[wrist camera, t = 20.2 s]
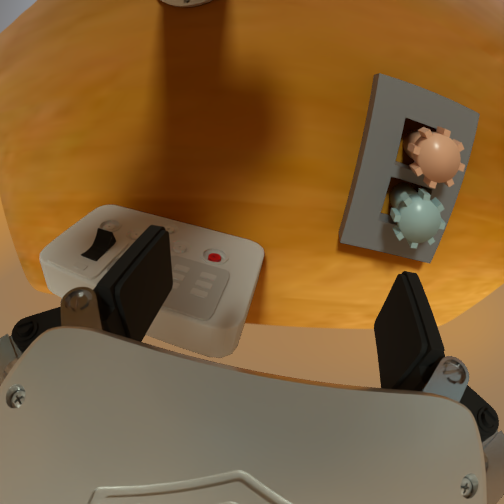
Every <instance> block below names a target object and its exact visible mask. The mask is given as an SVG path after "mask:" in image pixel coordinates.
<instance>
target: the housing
mask: <svg viewBox="0 0 504 504" xmlns="http://www.w3.org/2000/svg"><path fill="white" fill-rule="evenodd" d="M405 118H408V119H411V120H414V121H417V122H419V123H422V124H425V125H428V126H430V127H433V128H435V129H437V126H439V127H442V128H444V129H447V130H449V131H451V134H450V137H449V138H451V139H452V140H453V139H455V140H457V141H459V142H462V144H463V147H464V150H462V151H461V152H460V157H461V161H460V162H461V163H462V164H464V165H465V168H464V171H463V172H462V171H460V170H458V172H457V173H456V175H455V176H454V177H453V178H452V179H453V182H454V184H453V185H452V186H450V187H448V186H447V185H446V184H445V183H437V184H436V188H435V189H434V188H431V187H429V186H428V185H427V184H426V183H425V182H424V181H423V180H424V176H425V175H424V174H421V175H420V176H417V175H416V174H415V173H414V172H413V171H412V170H411V168H410V166H409V165H406V164H403V163H400V162H396V161H395V160H396V157H397V153H398V149H399V144H400V140H401V136H402V131H403V127H404V122H405ZM478 119H479V113H477V112H475V111H473V110H471V109H469V108H467V107H465V106H463V105H461V104H459V103H456V102H454V101H452V100H450V99H448V98H445V97H443V96H441V95H438V94H436V93H434V92H431V91H429V90H426V89H424V88H421V87H418V86H416V85H413V84H410V83H407V82H405V81H402V80H399V79H396V78H393V77H390V76H386V75H383V74H380V73H379V74H375V75H374V79H373V85H372V91H371V96H370V102H369V107H368V113H367V118H366V123H365V128H364V132H363V137H362V142H361V146H360V151H359V155H358V160H357V164H356V168H355V172H354V177H353V181H352V185H351V189H350V192H349V196H348V200H347V204H346V208H345V211H344V215H343V219H342V222H341V226H340V229H339V238H340V243H344V244H349V245H353V246H358V247H362V248H367V249H371V250H376V251H380V252H384V253H389V254H393V255H397V256H401V257H406V258H410V259H414V260H418V261H422V262H426V263H430V262H431V260H432V258H433V256H434V254H435V251H436V249H437V247H438V245H439V242H440V240H441V238H442V235H443V233H444V230H445V228H446V225H447V223H448V220H449V218H450V215H451V212H452V210H453V207H454V204H455V201H456V199H457V196H458V193H459V190H460V187H461V184H462V181H463V177H464V174H465V171H466V167H467V164H468V160H469V157H470V153H471V149H472V146H473V142H474V137H475V133H476V129H477V124H478ZM391 177H395V178H398V179H402V180H405V181H408V182H411V183H415V184H418V185H421V186H424V187H423V189H425V190H426V191H427V192H428V193H429V194H430V195H431V196H430V200H432V199H434V198H435V197H436V198H437V199H438V200H439V201H440V202H441V203H442V205H443V207H444V210H443V211H441V212H440V215H441V218H442V219H443V220H444V222H445V223H446V225H445V228H444V230H443V229H438V231H437V233H436V234H435V235H434V236H433V238H434V240H435V242H434V243H432V244H431V245H430V244H429V243H428V241H426V242H423V243H418V245H417V249H416V248H410V246H409V244H408V242H407V240H406V238H405V237H404V238H403V239H401V240H400V241H399V239H398V238H397V236H396V234H395V232H394V230H393V227H394V226H396V225H397V222H394V221H393V219H392V217H391V215H387V214H383V213H380V212H381V209H382V206H383V203H384V200H385V196H386V193H387V189H388V186H389V183H390V179H391Z"/></svg>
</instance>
